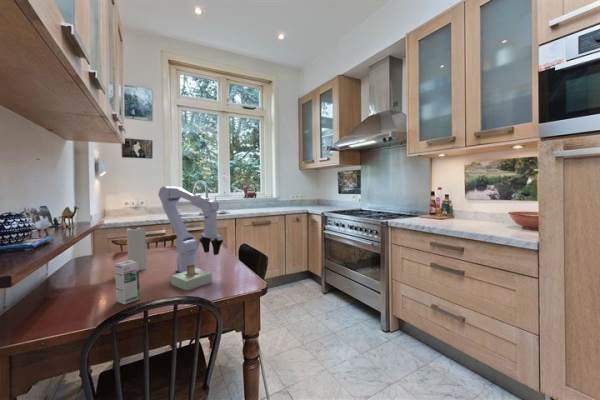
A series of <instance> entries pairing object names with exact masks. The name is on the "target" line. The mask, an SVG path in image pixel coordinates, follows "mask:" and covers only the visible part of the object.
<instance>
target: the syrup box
mask: <svg viewBox="0 0 600 400" xmlns="http://www.w3.org/2000/svg"><path fill="white" fill-rule="evenodd" d="M114 275H115V279H114V280H115V291H116V293H115V294H116V302H117V303H119V304H123V305H127V304H130V303H132V302H133V303H134V302H136V301H139V300H141V287H140V270H139V267H138V262H137V261H134V260H129V261H128V260H126V261H121V262H117V263H114Z"/></svg>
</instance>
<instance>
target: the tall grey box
mask: <svg viewBox="0 0 600 400" xmlns="http://www.w3.org/2000/svg"><path fill="white" fill-rule="evenodd" d="M146 236H147V235H146V228H145V227H143V228H141V227H131V228H130V227H129V228H126V242H127V243H126V244H127V245H126V246H127V261H129V260H134V261H137V262H138V267H139V271H142V270H146V269H148V264H147V263H148V260H147V239H146V238H147V237H146Z"/></svg>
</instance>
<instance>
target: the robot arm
mask: <svg viewBox="0 0 600 400" xmlns="http://www.w3.org/2000/svg"><path fill="white" fill-rule="evenodd" d="M158 198H159V200H160V203H161V204H162V208H163V210H164V213H165V215H166V216H167V219H168V222H169V223H170V225H171V227H172V229H173V232H174V233H175V236H176V239H175V240H174V244H175V249H176V252H177V253H178V254H177V256H176V269H175V271H177V272H178V273H182V272H185V271H187V265H189V264H194V265H195V269H196V268H197V269H200V268H199V267H197V256H196V252H197V250H198V249H199V245H200V244H199V242H200V243H201V246H202V248H203V252H204V254H206V253H210V245H211V246H212V252H213V253H212V254H213V255H214V256H217V255H219V254H220V249H221V246H222V244H223V242H224V239H223V236H222V235H220V234H218V222H217V221H218V219H217V217H218V215H217V211H218V210H219V209H220V204H219V202H218V201H217V200H216V199H210V198H209V197H204V196H202V194H201V193H196V194H193V193H191V192H190V191H187V190H186V189H184V188H183V187H180V186H178V185H177V186H176V185H175V186H165V185H164V186H163V185H162V186H161V187H160V188H159V191H158ZM181 198H182V199H185V200H186V201H189V202H190V203H191V205H192V206H194V207H197V208H198V209H200V210H201V212H202V216H203V222H204V225H203V226H204V227H203V228H204V232H202V233H201V232H200V234H199V235H200V238H199V241H198V239H196V237H195V236H194V235H193V234H192V233H190V232H189V231H188V230H187V227H186V225H185V223H184V221H183V220H182V217H181V215H180V213H179V210H178V209H177V206H176V205H177V204H178V203H179V201H180V199H181Z"/></svg>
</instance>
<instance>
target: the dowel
mask: <svg viewBox="0 0 600 400" xmlns="http://www.w3.org/2000/svg"><path fill="white" fill-rule="evenodd" d="M194 275H195V265H194V264H189V265H187V276H189V277H190V276H194Z"/></svg>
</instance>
